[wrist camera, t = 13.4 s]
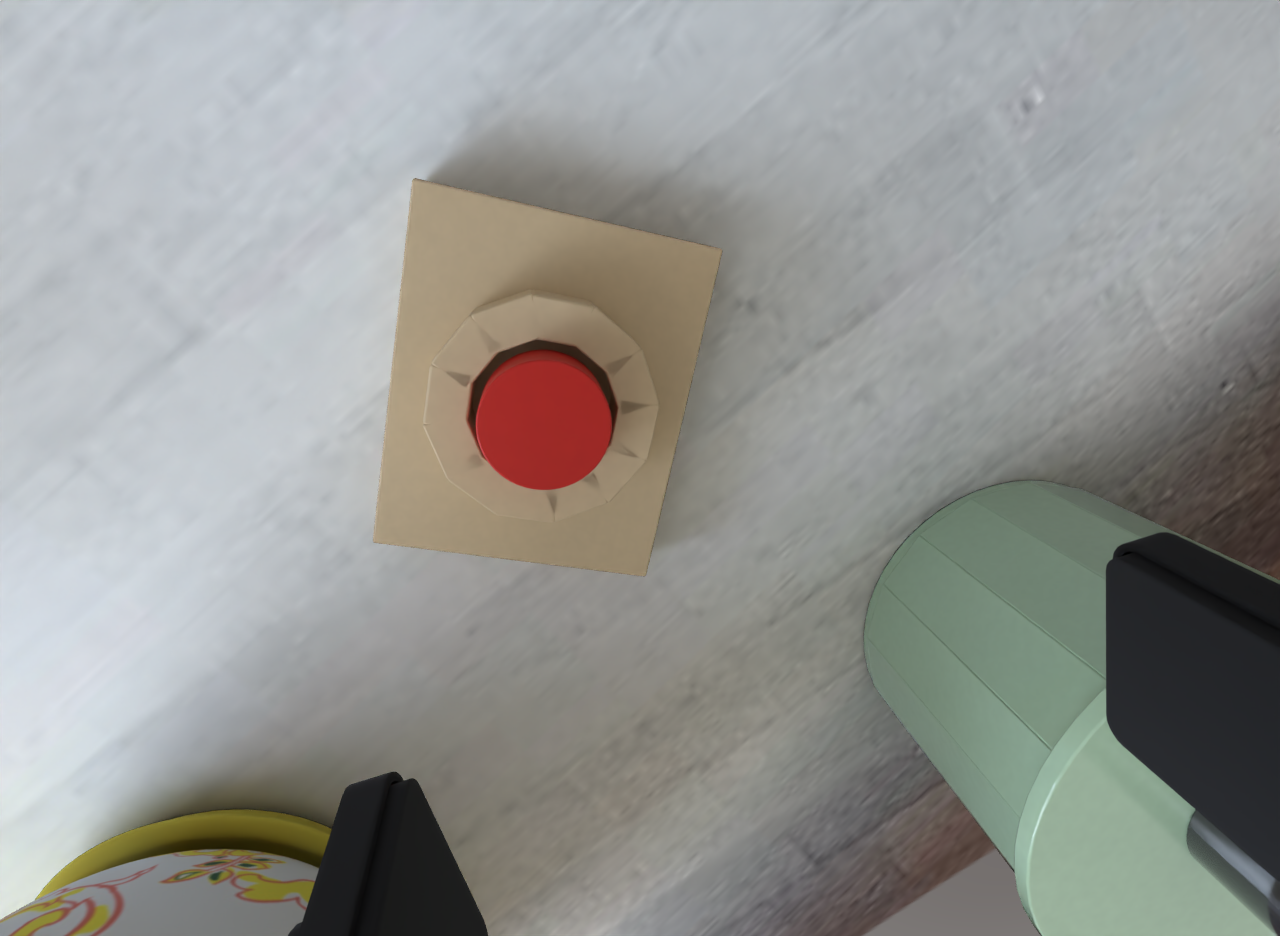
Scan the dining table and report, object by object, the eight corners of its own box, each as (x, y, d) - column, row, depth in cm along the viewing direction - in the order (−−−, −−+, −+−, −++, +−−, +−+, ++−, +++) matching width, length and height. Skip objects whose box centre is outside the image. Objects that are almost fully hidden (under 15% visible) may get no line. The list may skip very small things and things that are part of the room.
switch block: (421, 181, 21) (400, 172, 17) (709, 248, 22) (740, 250, 19) (382, 522, 24) (359, 569, 20) (638, 555, 26) (655, 603, 22)
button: (489, 338, 19) (486, 347, 18) (616, 362, 20) (624, 373, 18) (471, 460, 20) (466, 480, 19) (592, 478, 21) (598, 499, 19)
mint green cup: (846, 525, 26) (1021, 686, 17) (1132, 446, 27) (1448, 557, 18) (878, 764, 30) (1034, 1000, 21) (1126, 689, 31) (1381, 883, 22)
